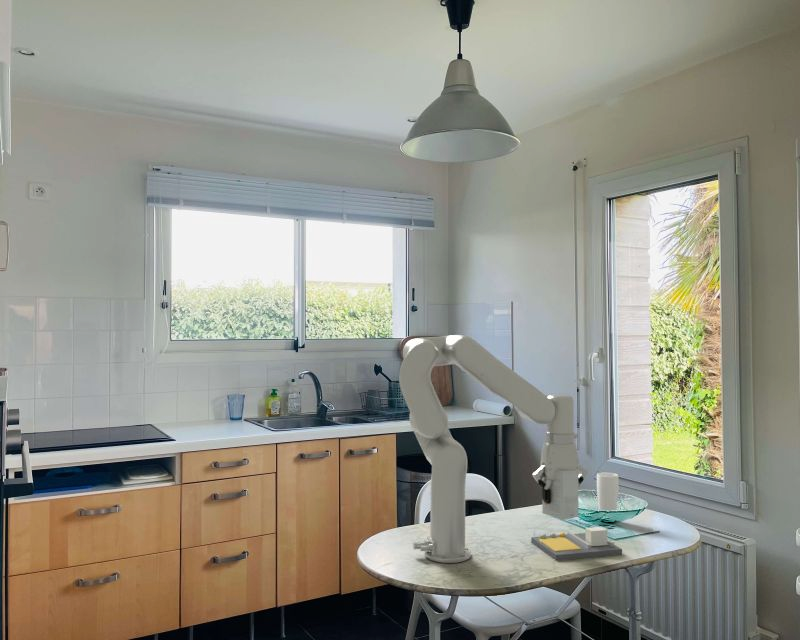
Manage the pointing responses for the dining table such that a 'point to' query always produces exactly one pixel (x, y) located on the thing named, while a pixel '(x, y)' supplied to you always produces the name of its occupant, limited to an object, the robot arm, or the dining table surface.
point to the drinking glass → (607, 490)
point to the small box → (563, 496)
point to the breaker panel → (572, 546)
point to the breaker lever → (596, 536)
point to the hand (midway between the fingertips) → (560, 501)
